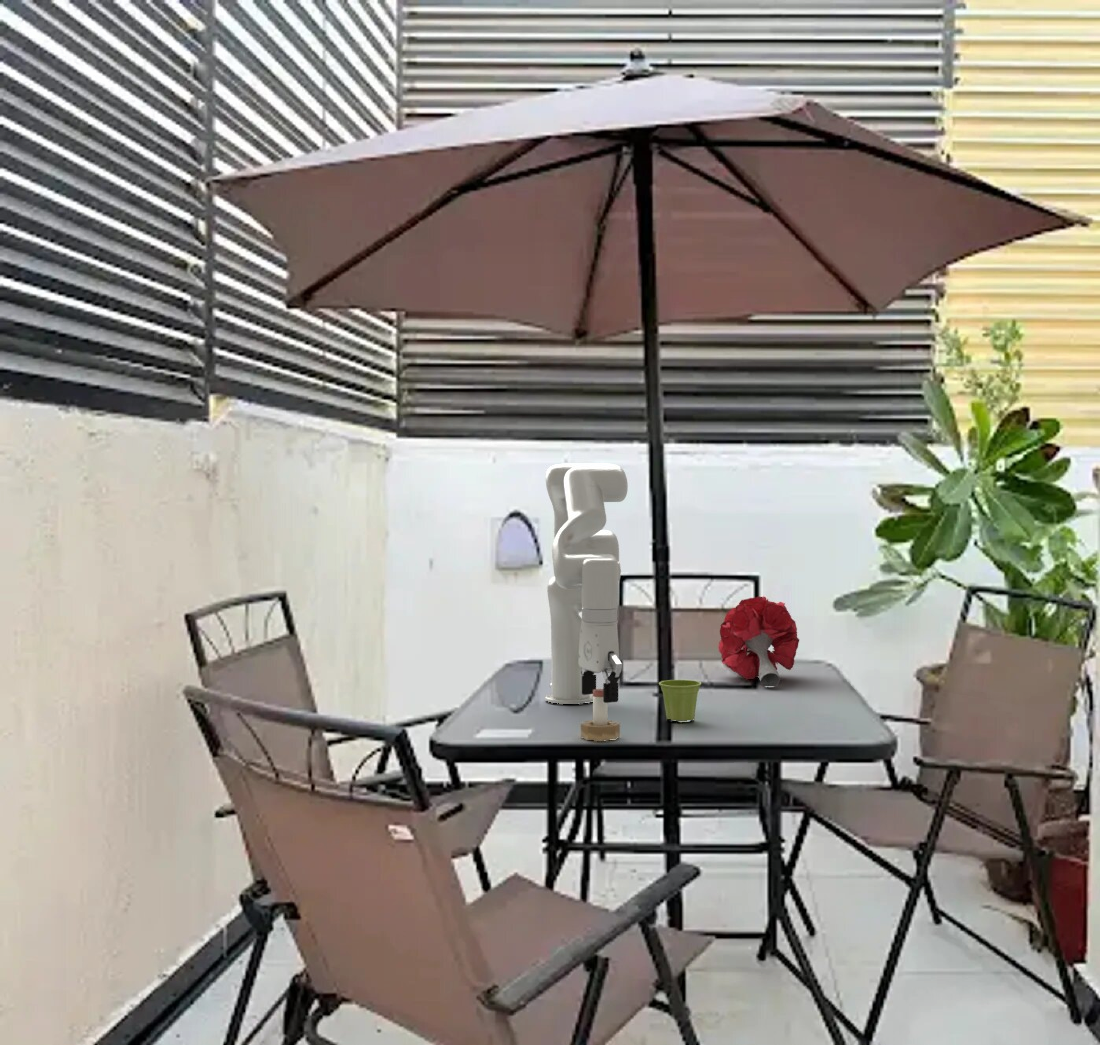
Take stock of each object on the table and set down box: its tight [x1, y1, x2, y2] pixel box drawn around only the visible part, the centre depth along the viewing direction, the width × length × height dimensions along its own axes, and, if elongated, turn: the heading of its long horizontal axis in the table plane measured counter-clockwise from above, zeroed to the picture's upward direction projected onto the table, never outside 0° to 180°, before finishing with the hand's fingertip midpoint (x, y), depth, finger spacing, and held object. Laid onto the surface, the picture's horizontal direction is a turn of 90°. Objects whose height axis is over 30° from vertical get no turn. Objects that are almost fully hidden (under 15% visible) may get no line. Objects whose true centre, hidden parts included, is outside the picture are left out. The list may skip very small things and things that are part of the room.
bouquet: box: [718, 596, 800, 687], centre depth 326 cm, size 22×24×30 cm
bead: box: [580, 720, 621, 742], centre depth 249 cm, size 8×8×3 cm
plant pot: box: [658, 679, 702, 721], centre depth 268 cm, size 9×9×9 cm
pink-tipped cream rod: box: [592, 688, 609, 726], centre depth 249 cm, size 3×3×10 cm
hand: (599, 698), depth 250 cm, fingers open, 9 cm apart
